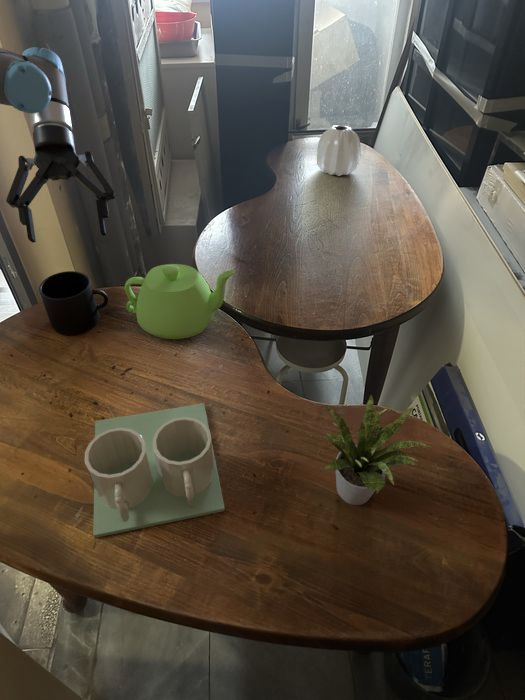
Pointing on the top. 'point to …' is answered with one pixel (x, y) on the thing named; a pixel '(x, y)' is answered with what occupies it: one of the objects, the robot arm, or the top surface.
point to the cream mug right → (180, 440)
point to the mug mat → (155, 478)
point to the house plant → (367, 455)
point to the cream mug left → (111, 453)
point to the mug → (71, 302)
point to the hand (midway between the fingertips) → (68, 237)
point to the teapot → (175, 301)
